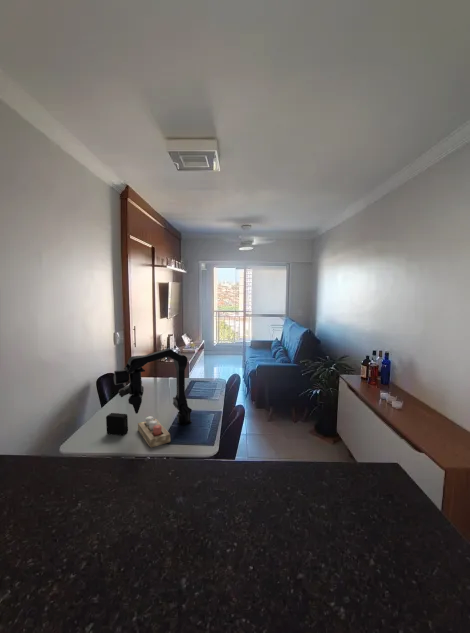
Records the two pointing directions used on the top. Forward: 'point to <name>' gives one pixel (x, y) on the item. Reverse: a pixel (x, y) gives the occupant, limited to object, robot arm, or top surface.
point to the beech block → (149, 436)
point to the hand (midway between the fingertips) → (137, 409)
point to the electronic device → (117, 424)
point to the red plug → (157, 430)
